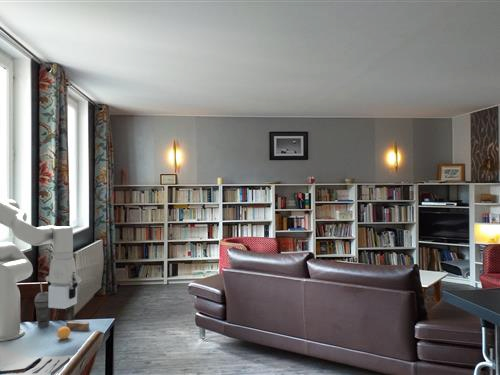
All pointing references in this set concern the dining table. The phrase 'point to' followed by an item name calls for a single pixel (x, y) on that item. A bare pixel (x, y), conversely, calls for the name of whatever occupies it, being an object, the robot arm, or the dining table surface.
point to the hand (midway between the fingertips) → (63, 297)
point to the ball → (63, 332)
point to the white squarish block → (60, 296)
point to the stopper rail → (77, 325)
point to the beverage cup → (42, 308)
